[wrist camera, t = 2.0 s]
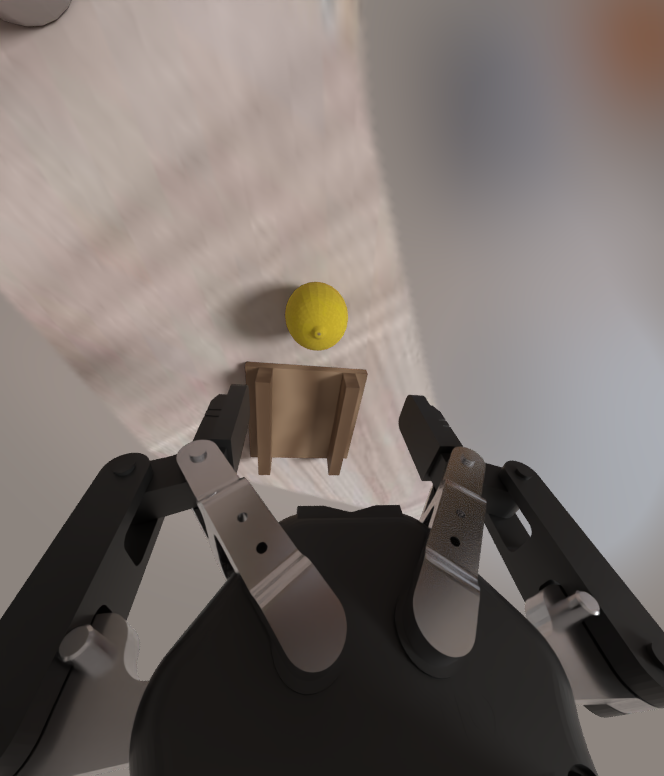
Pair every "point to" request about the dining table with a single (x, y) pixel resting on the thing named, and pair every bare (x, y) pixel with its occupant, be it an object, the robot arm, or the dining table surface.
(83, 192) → the dining table surface
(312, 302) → the lemon
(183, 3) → the dining table surface
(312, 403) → the cradle
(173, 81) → the dining table surface
